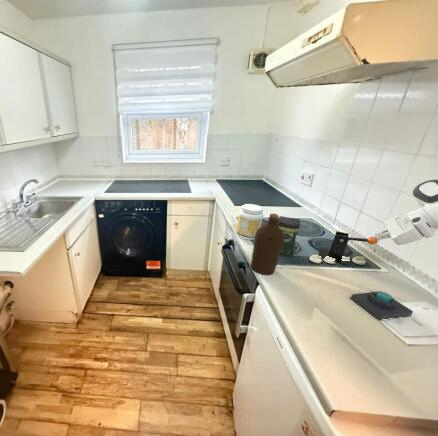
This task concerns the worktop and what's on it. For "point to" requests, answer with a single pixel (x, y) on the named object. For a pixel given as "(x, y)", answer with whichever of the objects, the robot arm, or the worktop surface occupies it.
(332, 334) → the worktop surface
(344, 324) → the worktop surface
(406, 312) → the button housing
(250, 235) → the supplement tub
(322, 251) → the switch bracket
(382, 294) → the button
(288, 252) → the coffee jar
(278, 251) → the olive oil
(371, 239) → the switch
